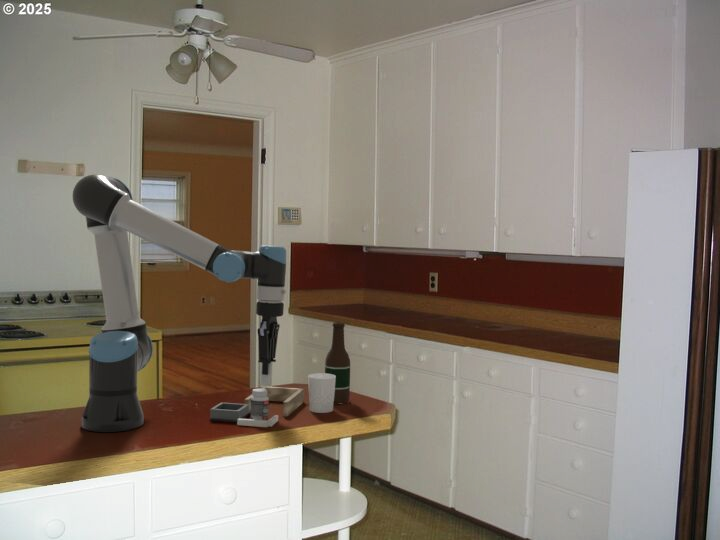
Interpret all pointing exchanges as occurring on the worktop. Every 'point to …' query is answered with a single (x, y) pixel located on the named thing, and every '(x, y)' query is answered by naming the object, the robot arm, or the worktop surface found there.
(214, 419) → the bin
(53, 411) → the worktop surface
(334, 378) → the white cup
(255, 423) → the white l-shaped block
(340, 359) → the beer bottle
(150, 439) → the worktop surface
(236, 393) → the worktop surface
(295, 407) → the cubby
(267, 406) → the pill bottle
